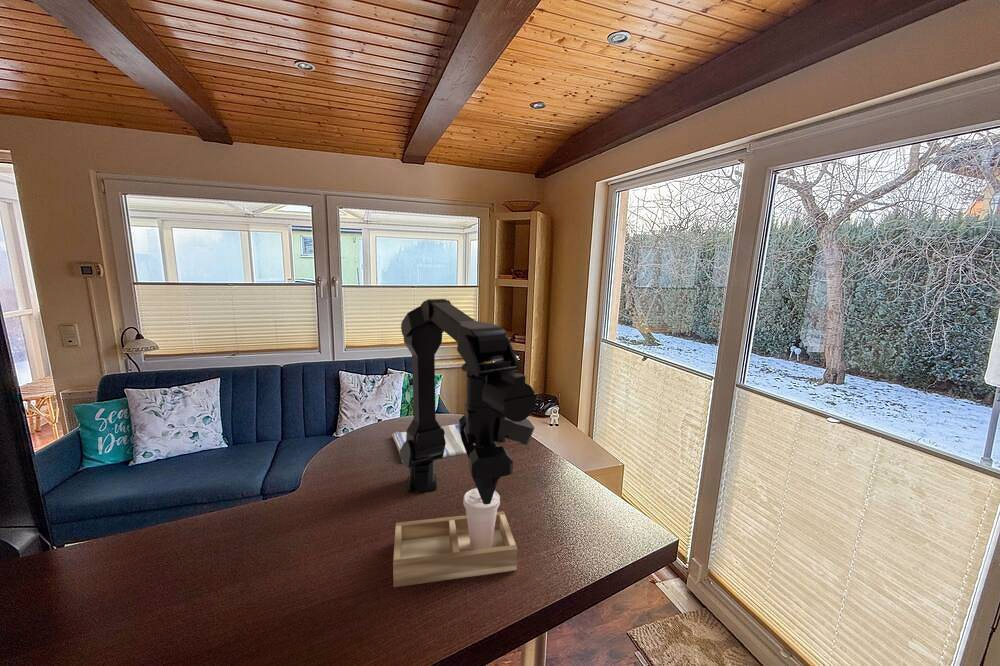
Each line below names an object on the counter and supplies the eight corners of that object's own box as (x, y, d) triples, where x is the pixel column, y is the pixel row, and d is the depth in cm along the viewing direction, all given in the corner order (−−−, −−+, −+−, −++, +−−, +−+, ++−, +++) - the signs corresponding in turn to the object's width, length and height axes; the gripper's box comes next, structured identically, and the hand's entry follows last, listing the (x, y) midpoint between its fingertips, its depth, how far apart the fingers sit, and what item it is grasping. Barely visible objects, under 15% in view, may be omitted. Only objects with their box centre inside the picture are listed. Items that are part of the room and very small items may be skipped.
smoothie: (495, 562, 68) (496, 486, 65) (458, 557, 69) (458, 481, 67) (501, 537, 74) (503, 467, 72) (468, 533, 75) (468, 463, 73)
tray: (396, 542, 74) (395, 522, 73) (503, 530, 78) (503, 511, 77) (393, 587, 63) (393, 564, 63) (516, 570, 68) (517, 548, 67)
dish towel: (391, 439, 118) (391, 430, 117) (468, 428, 127) (468, 420, 126) (399, 466, 102) (399, 456, 102) (487, 452, 111) (487, 443, 110)
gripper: (547, 419, 60) (543, 516, 62) (516, 383, 78) (514, 459, 80) (473, 424, 57) (471, 524, 60) (458, 386, 75) (458, 464, 78)
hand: (482, 488), depth 69 cm, fingers open, 9 cm apart
